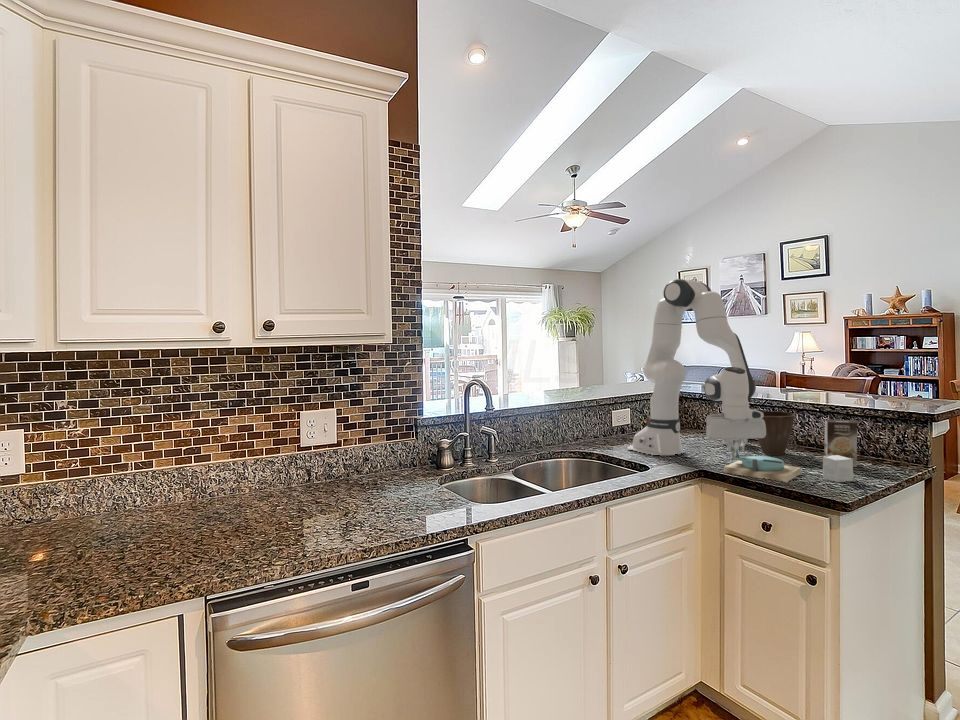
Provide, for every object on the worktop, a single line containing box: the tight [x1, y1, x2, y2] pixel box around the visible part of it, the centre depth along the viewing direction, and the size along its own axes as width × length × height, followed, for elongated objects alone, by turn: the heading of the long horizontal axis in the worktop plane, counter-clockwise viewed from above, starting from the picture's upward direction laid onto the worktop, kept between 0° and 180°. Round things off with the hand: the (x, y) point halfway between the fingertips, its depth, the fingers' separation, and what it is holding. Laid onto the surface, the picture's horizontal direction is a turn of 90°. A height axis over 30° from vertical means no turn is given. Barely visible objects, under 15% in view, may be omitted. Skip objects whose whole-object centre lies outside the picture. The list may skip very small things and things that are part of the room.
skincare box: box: [822, 455, 854, 483], centre depth 177 cm, size 6×6×7 cm
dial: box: [731, 440, 785, 471], centre depth 189 cm, size 17×13×8 cm
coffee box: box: [823, 418, 858, 467], centre depth 194 cm, size 9×6×16 cm
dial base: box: [723, 459, 802, 483], centre depth 188 cm, size 20×14×6 cm
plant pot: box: [757, 410, 795, 456], centre depth 215 cm, size 15×15×16 cm
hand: (735, 450), depth 194 cm, fingers closed on dial, 2 cm apart
